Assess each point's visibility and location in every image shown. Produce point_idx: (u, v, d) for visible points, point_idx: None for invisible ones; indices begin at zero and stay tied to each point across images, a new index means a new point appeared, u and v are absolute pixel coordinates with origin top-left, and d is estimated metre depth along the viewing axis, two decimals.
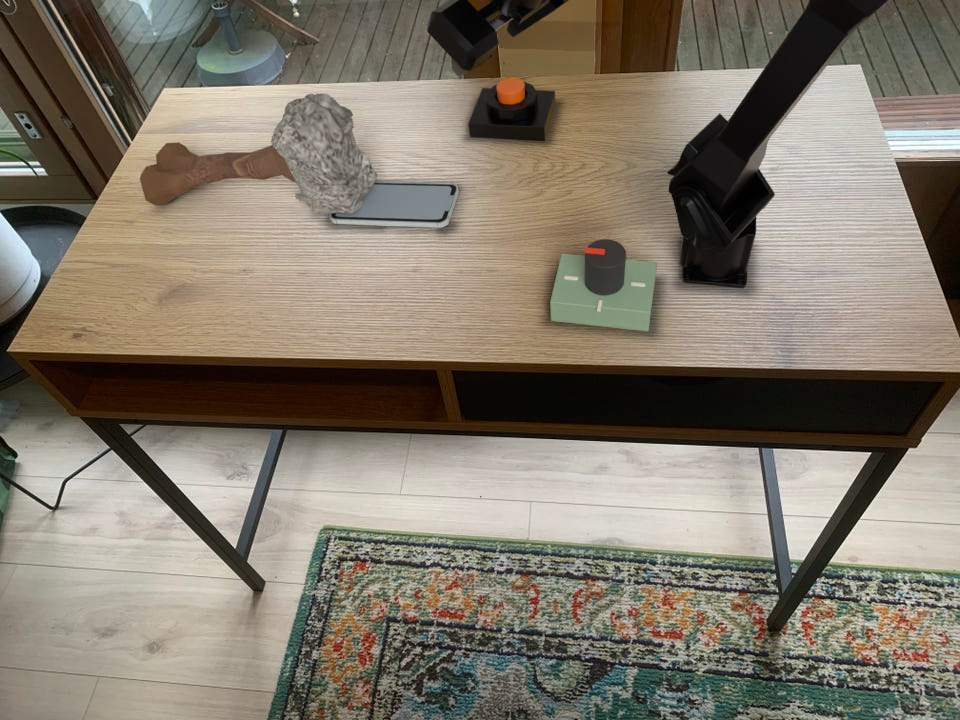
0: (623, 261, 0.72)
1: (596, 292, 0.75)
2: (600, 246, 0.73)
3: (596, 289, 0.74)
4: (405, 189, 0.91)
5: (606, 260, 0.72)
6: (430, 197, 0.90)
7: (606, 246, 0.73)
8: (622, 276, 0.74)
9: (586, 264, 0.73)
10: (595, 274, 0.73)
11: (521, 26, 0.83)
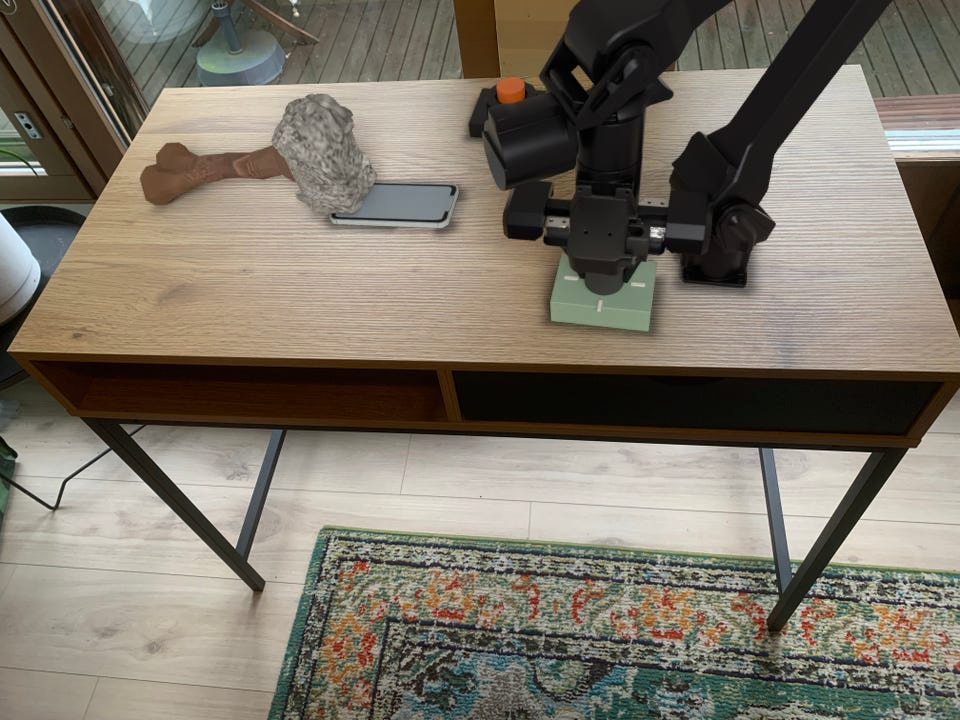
0: None
1: (596, 292, 0.75)
2: None
3: (596, 289, 0.74)
4: (405, 189, 0.91)
5: None
6: (431, 197, 0.90)
7: None
8: (622, 276, 0.74)
9: None
10: (595, 274, 0.73)
11: None
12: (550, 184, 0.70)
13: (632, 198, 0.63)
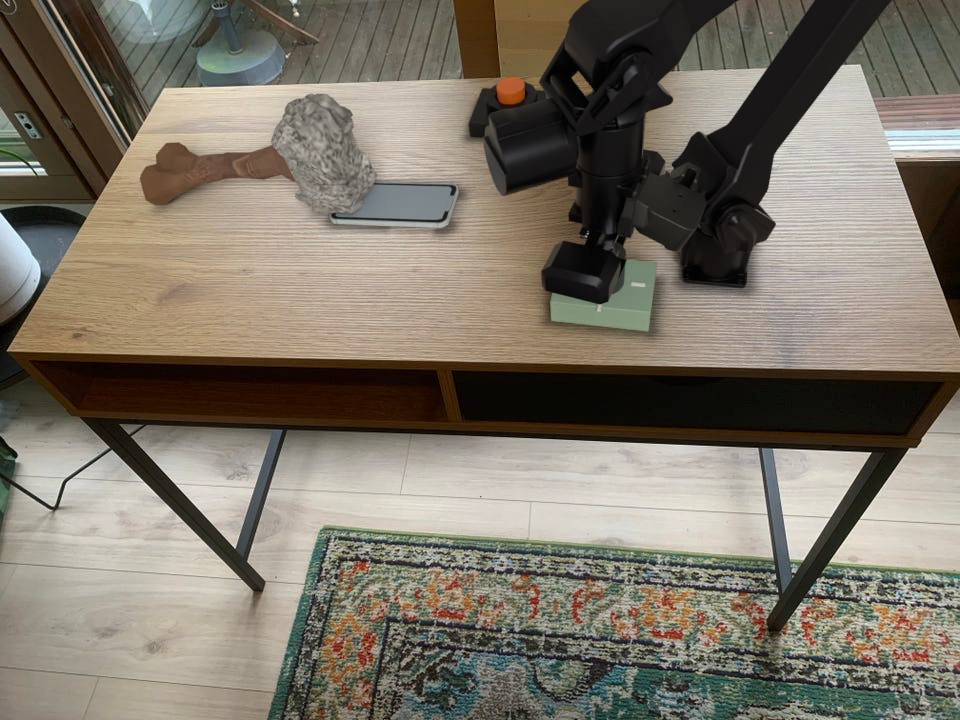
0: None
1: (620, 287, 0.75)
2: None
3: (621, 284, 0.74)
4: (405, 189, 0.91)
5: None
6: (430, 197, 0.90)
7: None
8: None
9: None
10: None
11: None
12: (567, 242, 0.66)
13: None
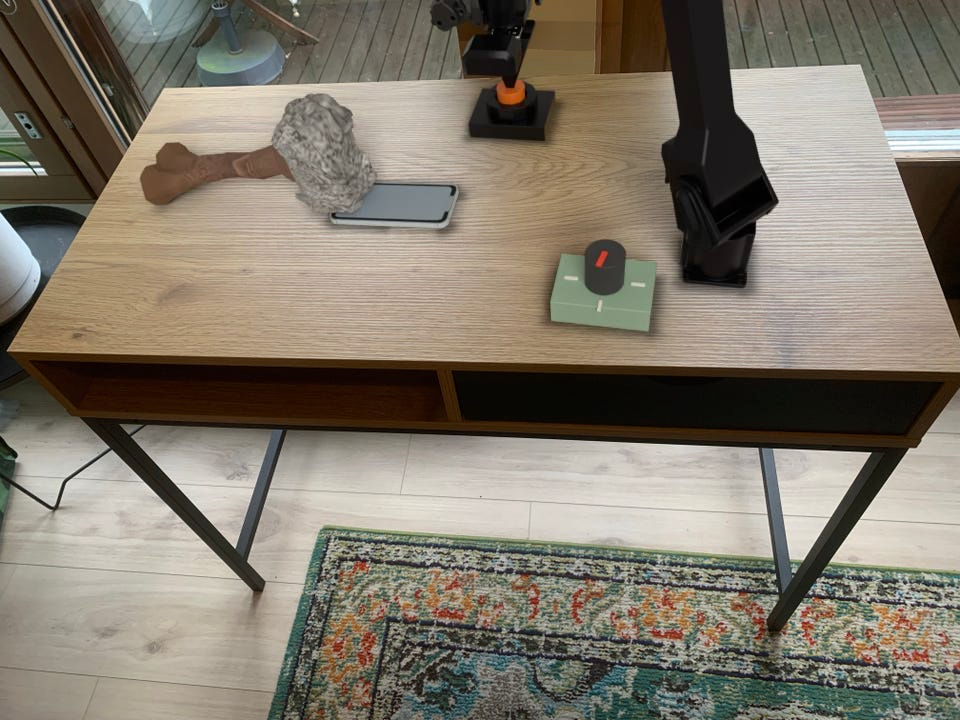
0: None
1: (620, 287, 0.75)
2: (594, 255, 0.73)
3: (621, 284, 0.74)
4: (405, 189, 0.91)
5: (615, 253, 0.72)
6: (431, 198, 0.90)
7: (595, 250, 0.73)
8: None
9: (609, 272, 0.72)
10: (621, 270, 0.73)
11: None
12: None
13: None
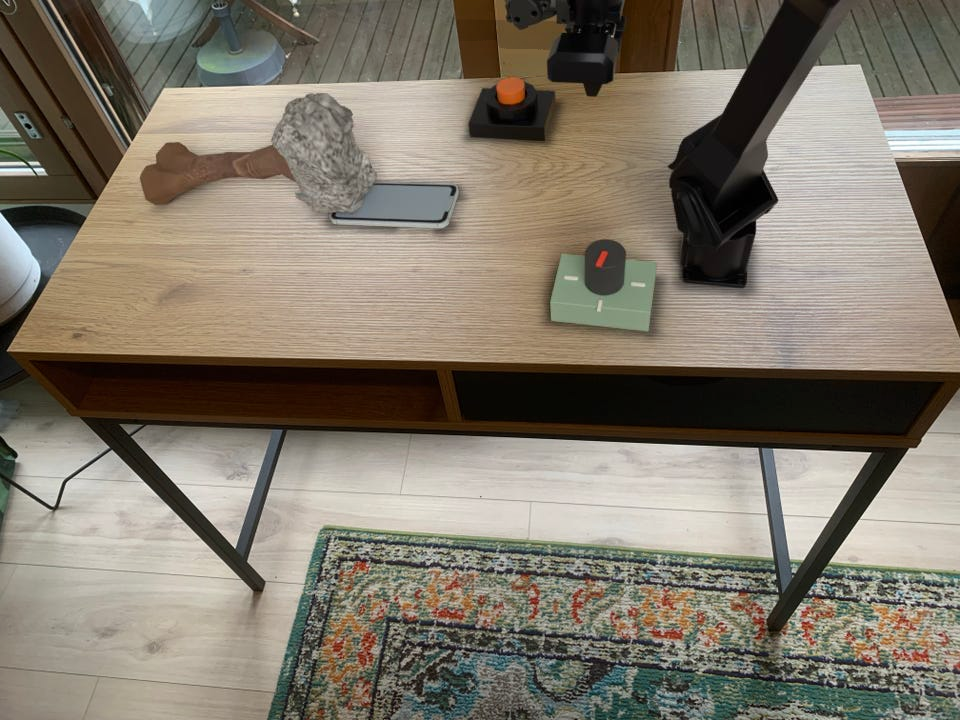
0: None
1: (620, 287, 0.75)
2: (594, 255, 0.73)
3: (621, 284, 0.74)
4: (405, 189, 0.91)
5: (615, 253, 0.72)
6: (431, 198, 0.90)
7: (595, 250, 0.73)
8: None
9: (609, 272, 0.72)
10: (621, 270, 0.73)
11: None
12: None
13: None
